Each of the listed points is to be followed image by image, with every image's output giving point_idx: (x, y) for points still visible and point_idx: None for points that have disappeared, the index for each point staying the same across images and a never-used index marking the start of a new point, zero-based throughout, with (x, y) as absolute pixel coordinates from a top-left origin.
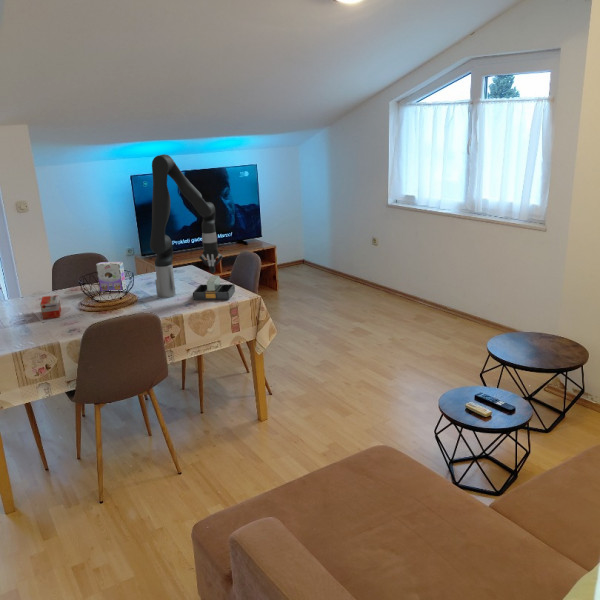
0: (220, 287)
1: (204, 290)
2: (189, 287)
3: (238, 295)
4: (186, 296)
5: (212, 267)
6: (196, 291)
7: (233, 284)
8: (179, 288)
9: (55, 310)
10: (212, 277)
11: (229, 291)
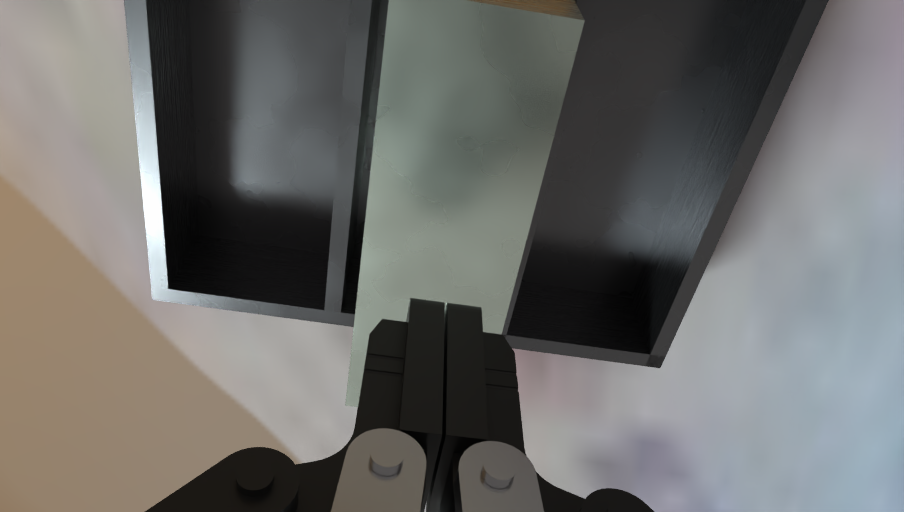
0: (341, 181)
1: (595, 297)
2: (753, 458)
3: (81, 53)
4: (855, 150)
5: (415, 407)
6: (744, 108)
7: (164, 292)
8: (866, 447)
9: None
10: None
11: None
